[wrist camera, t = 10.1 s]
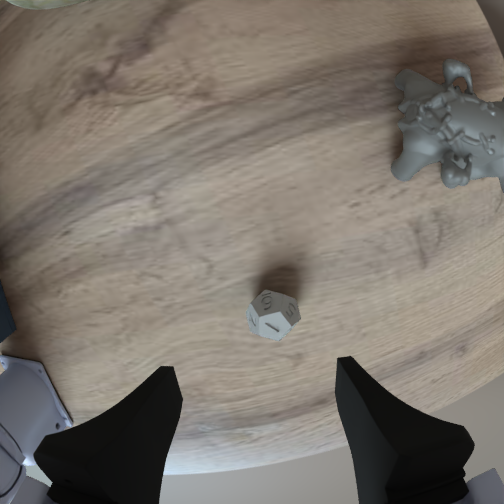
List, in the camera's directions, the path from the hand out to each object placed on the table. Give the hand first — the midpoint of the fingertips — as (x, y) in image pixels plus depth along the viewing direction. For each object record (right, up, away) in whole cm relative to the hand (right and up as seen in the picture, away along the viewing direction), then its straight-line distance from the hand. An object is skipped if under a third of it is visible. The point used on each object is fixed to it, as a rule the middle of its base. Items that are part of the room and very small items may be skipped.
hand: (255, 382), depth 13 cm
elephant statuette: (+14, +14, +5) cm, 21 cm away
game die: (+1, +2, +10) cm, 10 cm away
